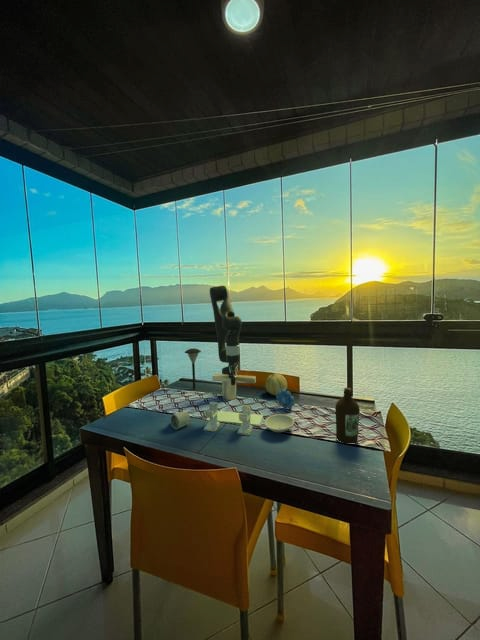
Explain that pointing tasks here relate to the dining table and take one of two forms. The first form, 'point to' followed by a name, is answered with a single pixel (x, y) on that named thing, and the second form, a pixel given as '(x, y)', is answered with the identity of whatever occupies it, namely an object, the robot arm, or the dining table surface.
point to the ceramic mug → (180, 420)
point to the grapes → (285, 399)
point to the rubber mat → (237, 418)
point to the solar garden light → (193, 361)
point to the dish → (279, 422)
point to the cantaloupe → (275, 383)
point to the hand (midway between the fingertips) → (234, 383)
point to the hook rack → (214, 423)
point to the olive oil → (347, 418)
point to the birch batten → (237, 378)
